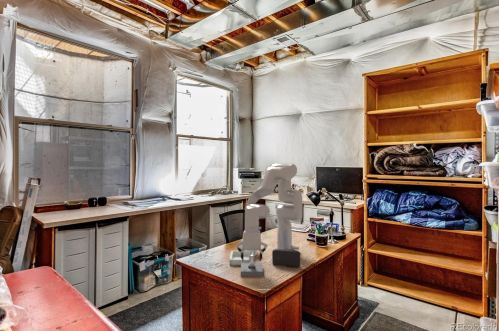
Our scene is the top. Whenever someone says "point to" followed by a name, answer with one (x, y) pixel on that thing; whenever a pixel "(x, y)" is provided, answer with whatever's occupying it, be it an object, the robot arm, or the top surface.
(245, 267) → the grey square hole plate
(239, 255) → the parts tray
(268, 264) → the top surface
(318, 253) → the top surface
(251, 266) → the pin
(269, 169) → the robot arm
